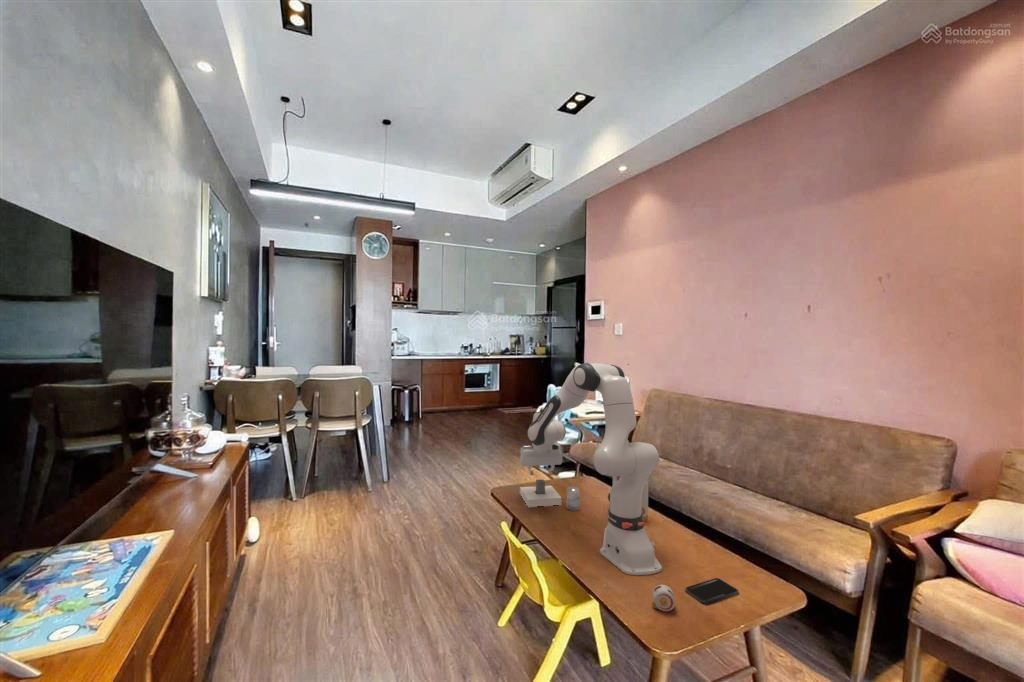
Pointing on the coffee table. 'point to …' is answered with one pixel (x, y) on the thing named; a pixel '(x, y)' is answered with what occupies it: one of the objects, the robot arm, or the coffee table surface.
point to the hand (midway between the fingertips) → (540, 474)
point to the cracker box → (644, 499)
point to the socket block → (540, 497)
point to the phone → (711, 591)
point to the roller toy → (663, 598)
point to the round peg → (573, 498)
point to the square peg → (540, 486)
